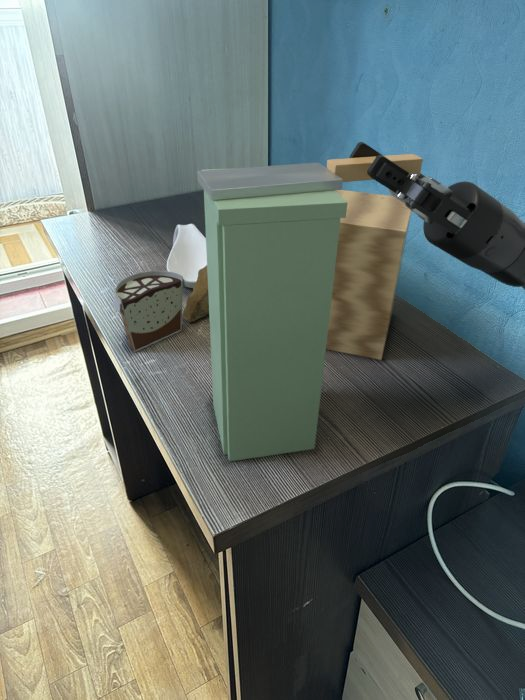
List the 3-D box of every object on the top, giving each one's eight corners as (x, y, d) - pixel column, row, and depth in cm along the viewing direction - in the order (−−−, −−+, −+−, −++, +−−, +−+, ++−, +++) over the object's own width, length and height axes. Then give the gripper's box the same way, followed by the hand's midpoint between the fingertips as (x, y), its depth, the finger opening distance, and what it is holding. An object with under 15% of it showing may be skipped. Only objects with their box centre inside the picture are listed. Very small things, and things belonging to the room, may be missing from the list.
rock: (187, 322, 85) (243, 304, 88) (170, 272, 85) (227, 256, 87) (181, 327, 96) (231, 311, 98) (166, 283, 96) (217, 268, 98)
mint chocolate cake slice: (167, 313, 92) (162, 262, 86) (189, 327, 88) (185, 274, 83) (105, 340, 85) (95, 285, 79) (126, 356, 81) (117, 300, 75)
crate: (391, 316, 93) (414, 198, 80) (381, 360, 82) (406, 231, 69) (304, 301, 97) (313, 186, 84) (284, 341, 86) (291, 215, 73)
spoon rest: (235, 292, 99) (234, 258, 94) (173, 300, 96) (170, 265, 91) (208, 243, 117) (206, 212, 113) (155, 248, 114) (152, 217, 110)
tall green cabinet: (293, 389, 75) (310, 165, 57) (318, 448, 66) (347, 202, 47) (212, 399, 73) (201, 169, 55) (225, 462, 64) (218, 209, 45)
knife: (400, 165, 58) (403, 148, 57) (430, 181, 53) (434, 163, 52) (197, 181, 52) (196, 162, 50) (211, 201, 47) (211, 181, 46)
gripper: (464, 181, 63) (359, 107, 56) (538, 224, 52) (420, 139, 44) (425, 233, 66) (321, 170, 59) (487, 285, 55) (368, 215, 47)
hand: (364, 157), depth 52 cm, fingers open, 4 cm apart
